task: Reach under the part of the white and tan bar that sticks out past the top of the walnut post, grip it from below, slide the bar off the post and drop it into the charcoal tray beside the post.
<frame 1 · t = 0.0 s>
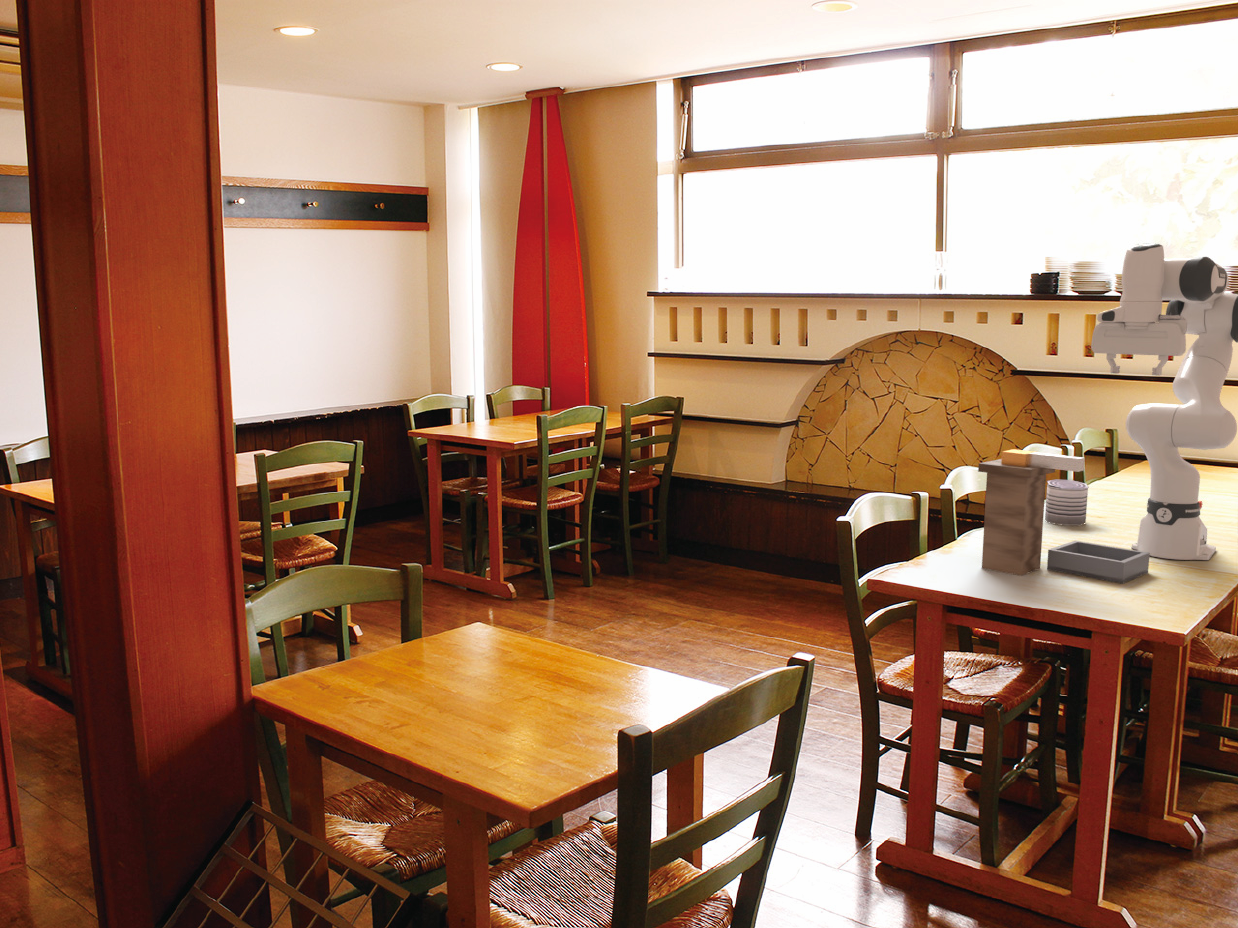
hand: (1135, 374, 247), 48 cm above the table, tool pointing down, fingers open, 8 cm apart
tray: (1097, 571, 257), on the table
white and tan bar: (1031, 465, 253), point 26 cm above the table, touching post
post: (1010, 568, 259), on the table
can: (1065, 522, 315), on the table
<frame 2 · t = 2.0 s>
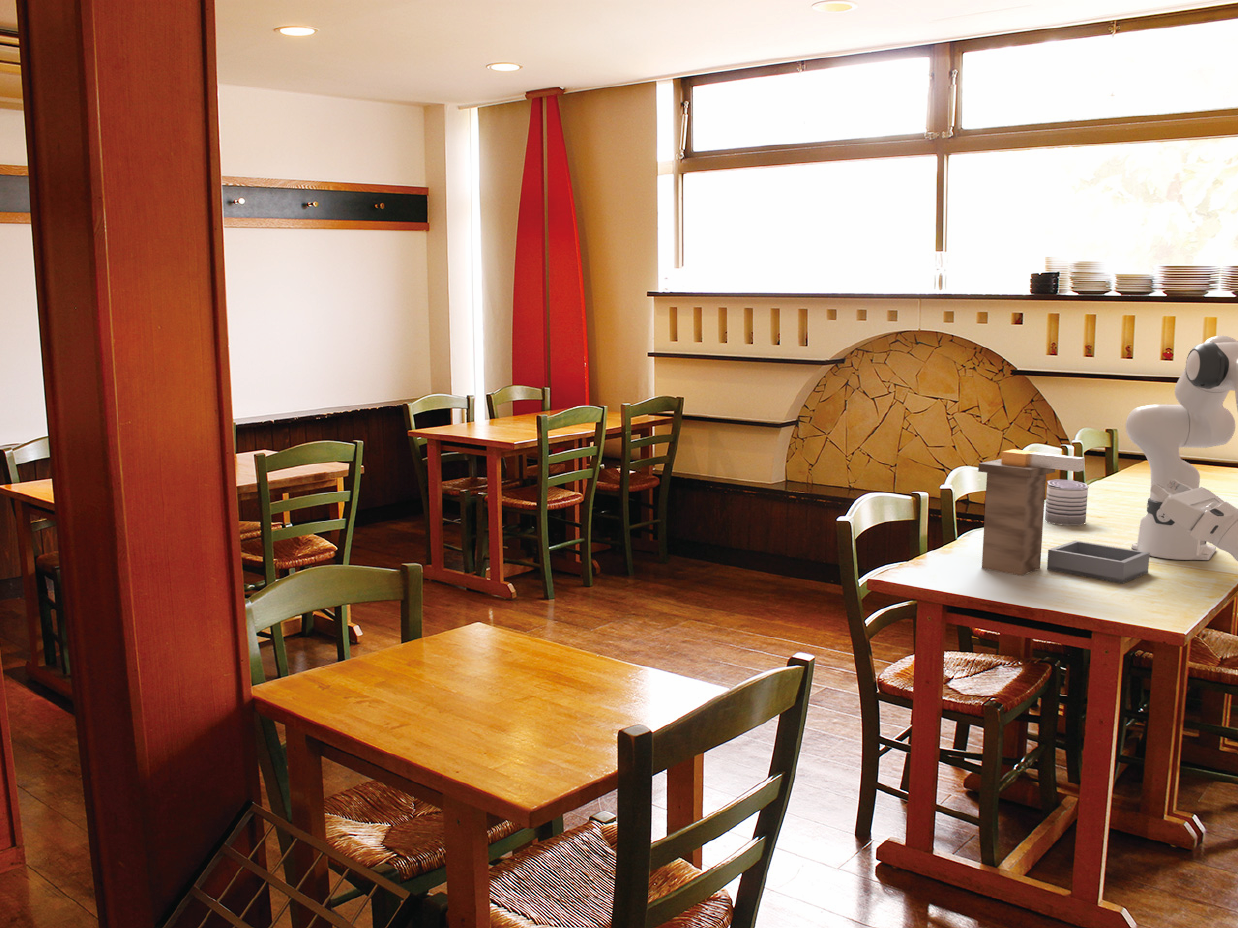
hand: (1161, 484, 231), 25 cm above the table, tool pointing upward, fingers open, 8 cm apart
nothing on the table moved.
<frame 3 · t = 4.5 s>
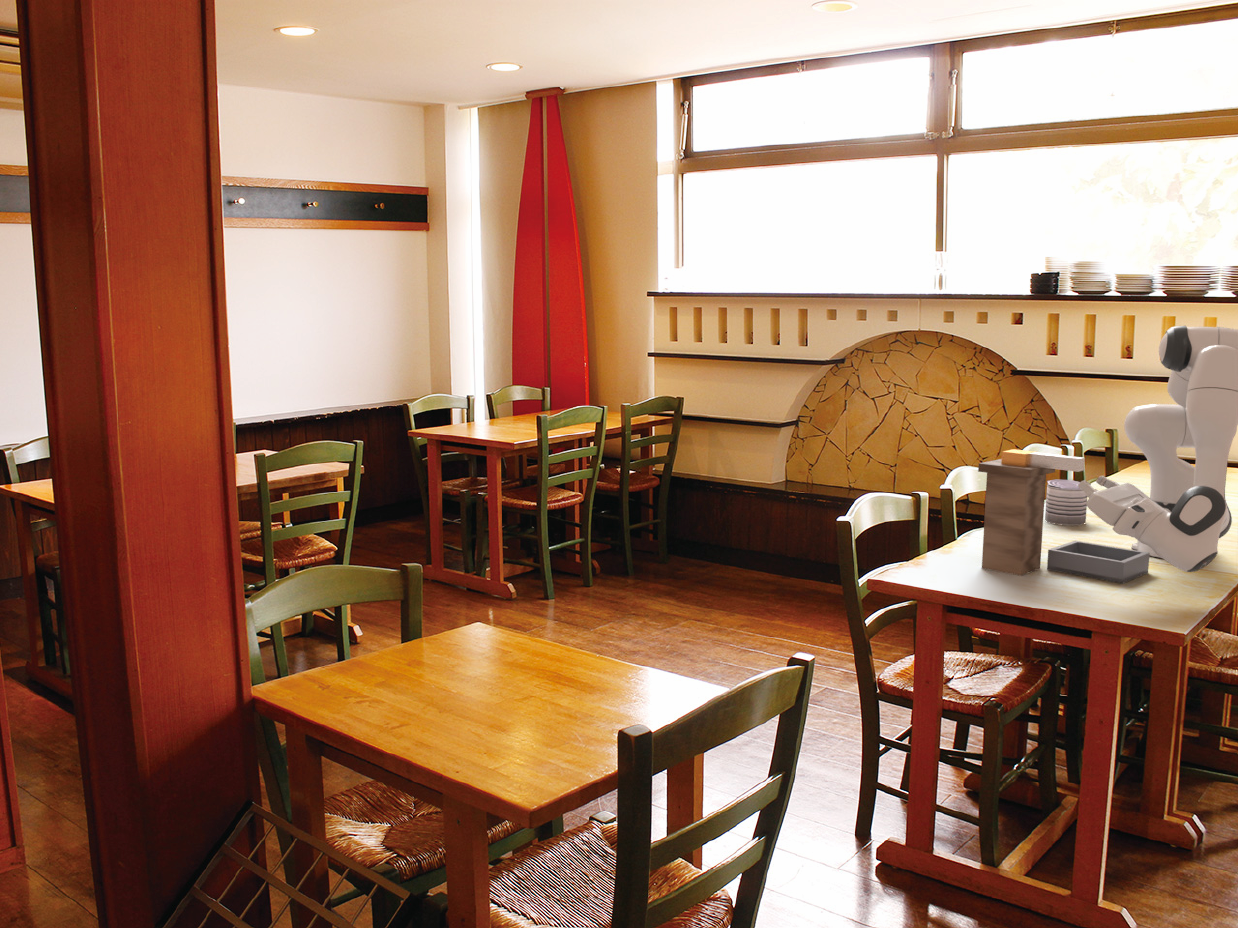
hand: (1089, 480, 243), 24 cm above the table, tool pointing upward, fingers open, 8 cm apart
nothing on the table moved.
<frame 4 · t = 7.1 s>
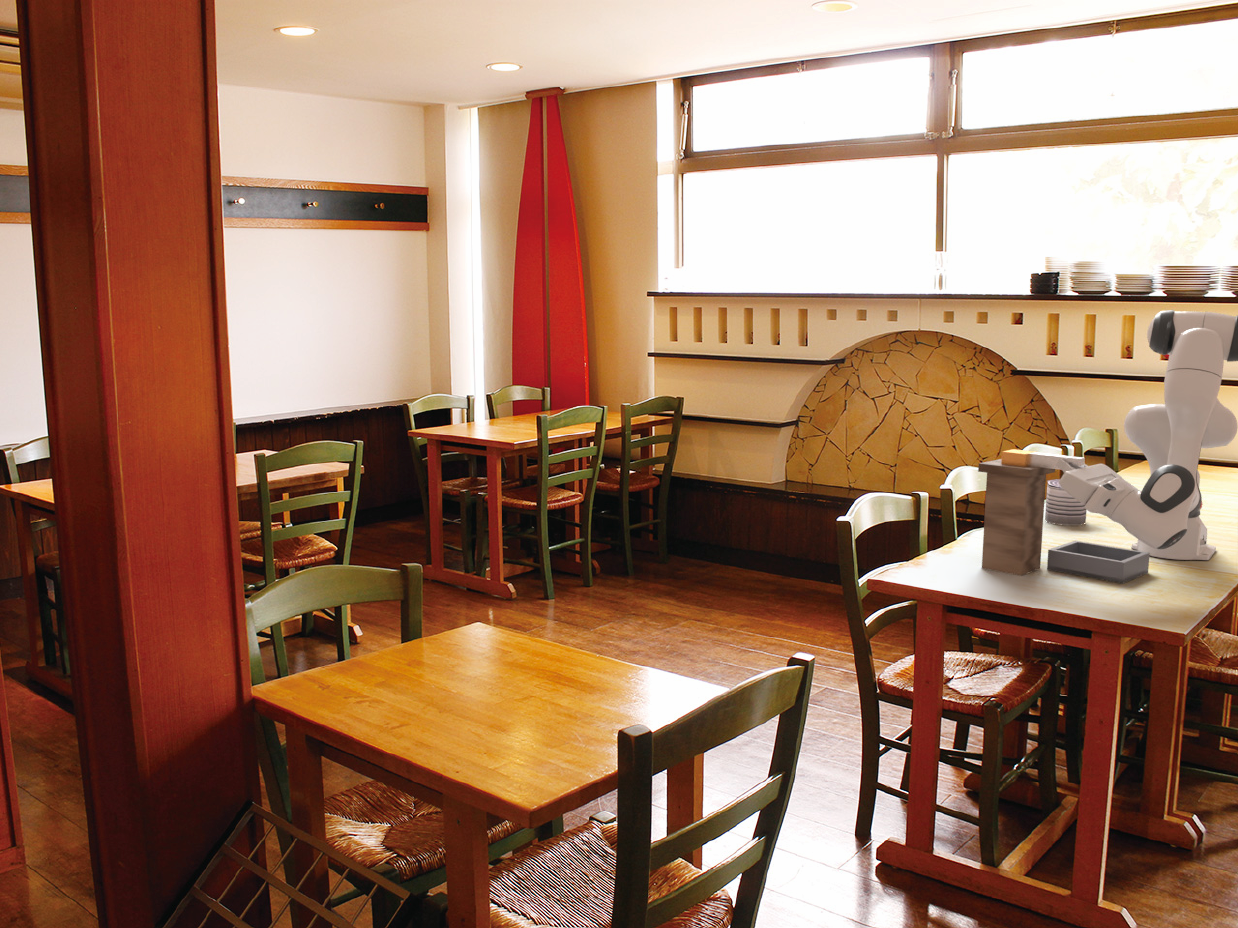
hand: (1063, 460, 247), 28 cm above the table, tool pointing upward, fingers closed on white and tan bar, 3 cm apart
white and tan bar: (1031, 465, 253), point 26 cm above the table, touching gripper, post
everything else where it was.
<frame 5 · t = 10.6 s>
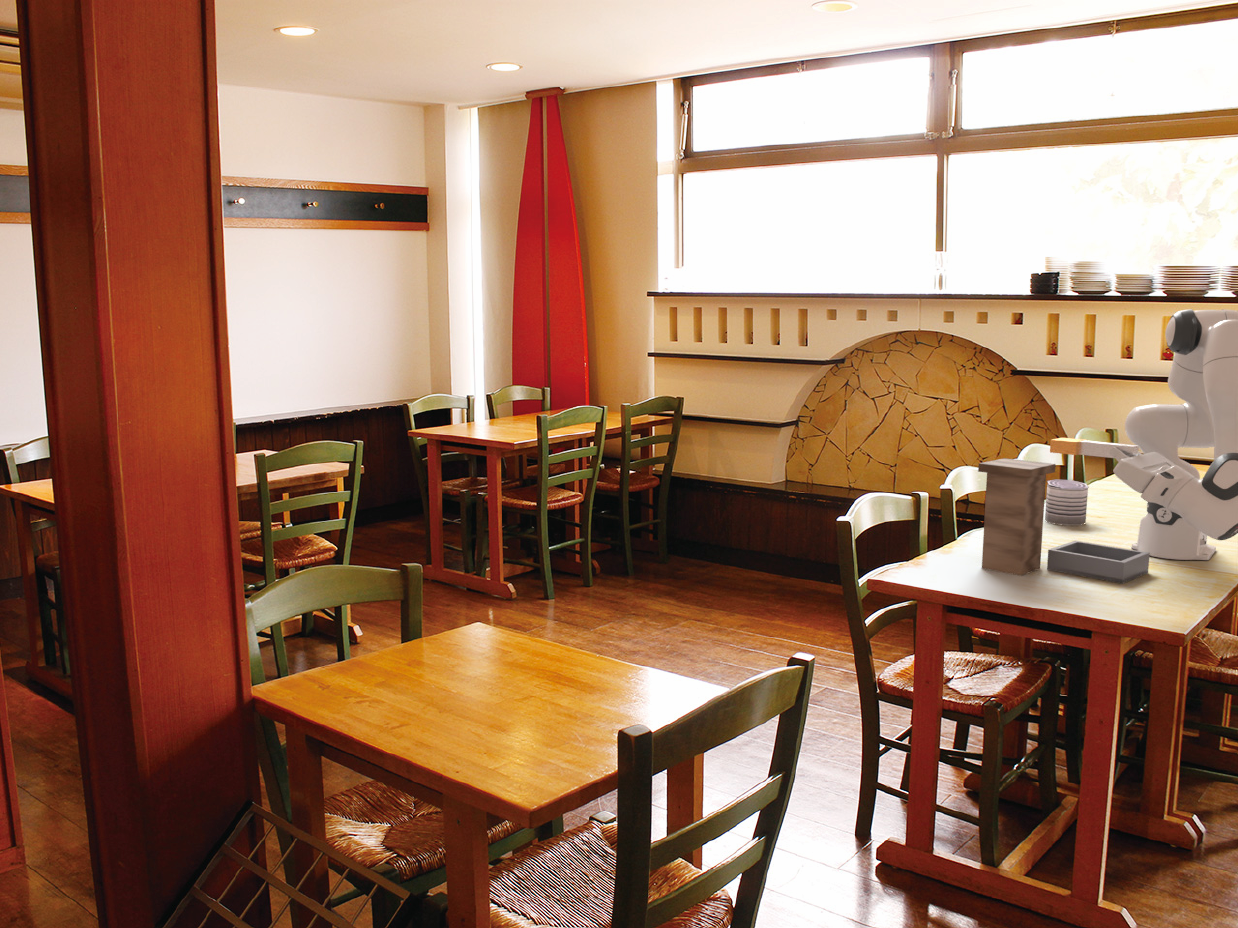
hand: (1116, 448, 238), 32 cm above the table, tool pointing upward, fingers closed on white and tan bar, 3 cm apart
white and tan bar: (1081, 453, 243), point 30 cm above the table, touching gripper
everything else where it was.
when the fingers open (22 cm above the table, at t = 14.5 s): white and tan bar drops 16 cm, resting on tray.
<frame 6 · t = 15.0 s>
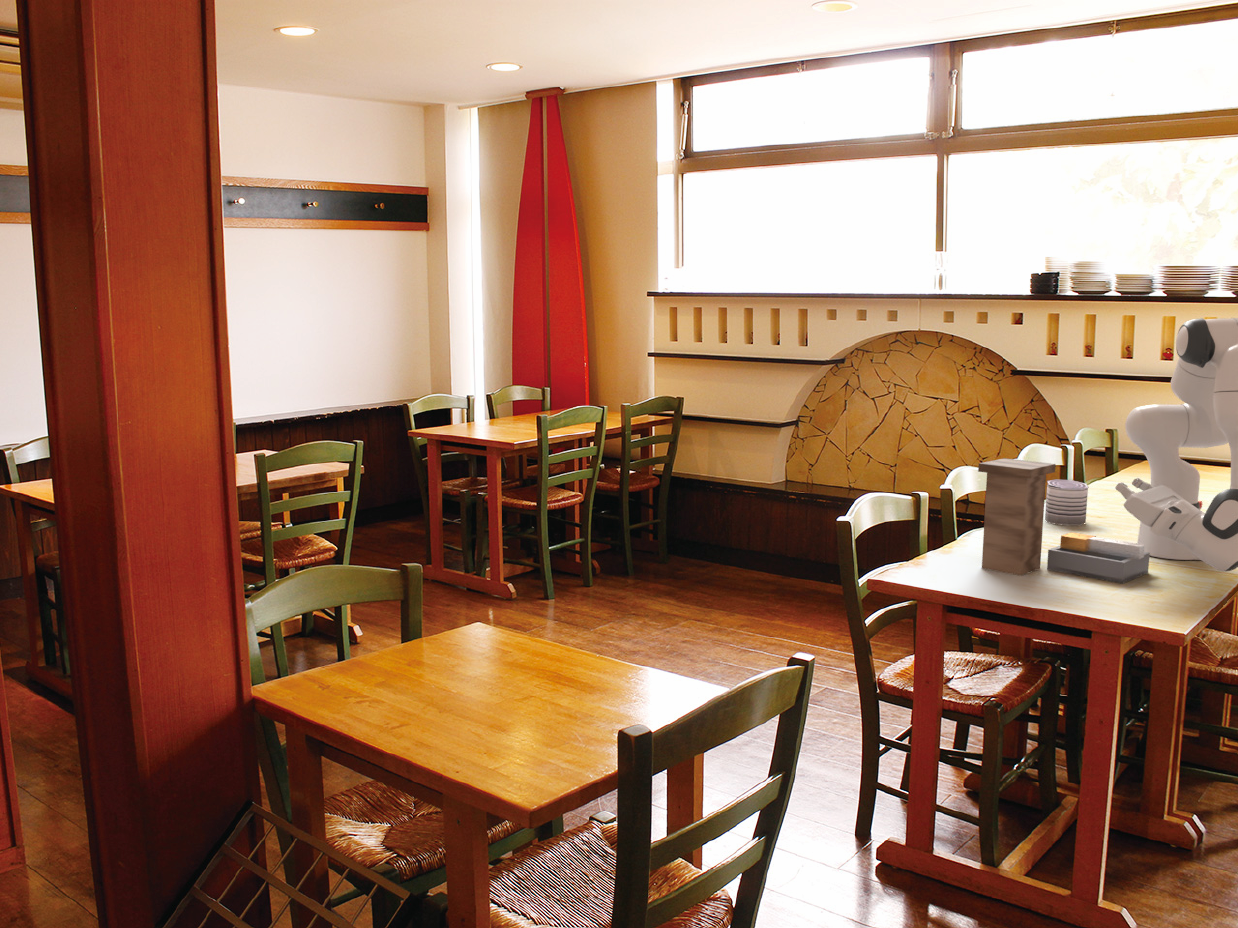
hand: (1126, 482, 249), 22 cm above the table, tool pointing upward, fingers open, 8 cm apart
white and tan bar: (1090, 549, 257), point 5 cm above the table, touching tray
everything else where it was.
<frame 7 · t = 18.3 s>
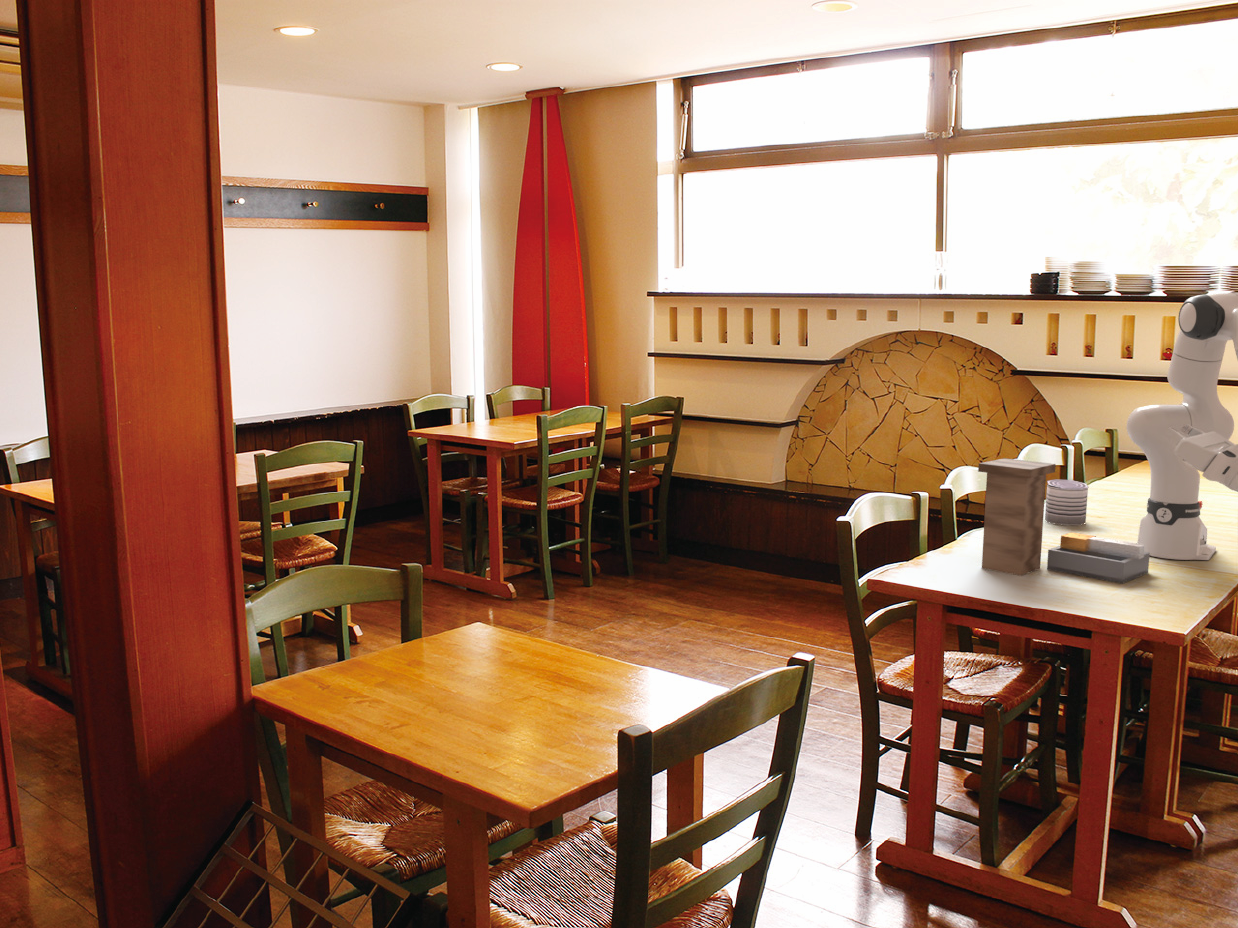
hand: (1175, 428, 240), 36 cm above the table, tool pointing upward, fingers open, 8 cm apart
nothing on the table moved.
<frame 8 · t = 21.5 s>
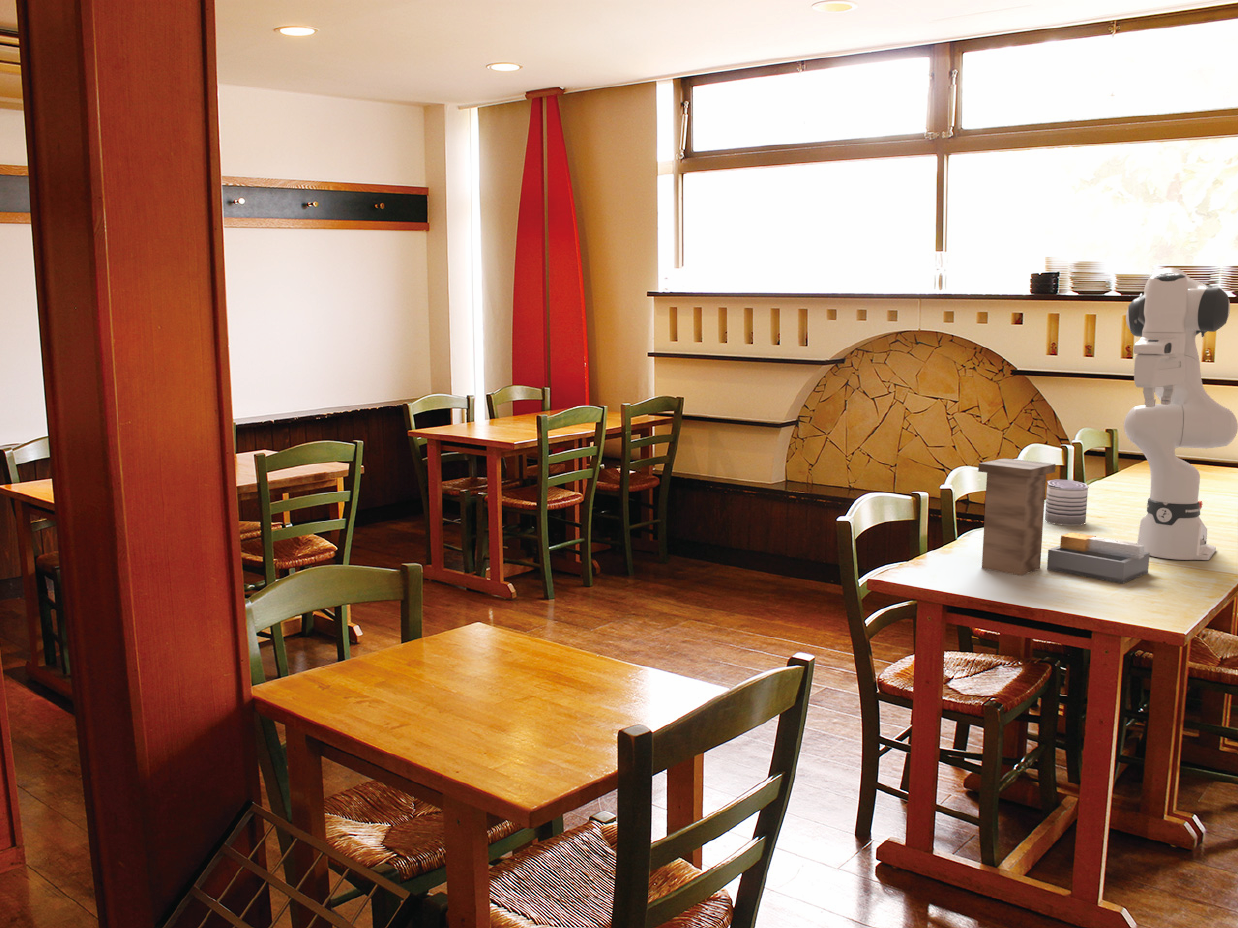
hand: (1157, 405, 243), 41 cm above the table, tool pointing down, fingers open, 8 cm apart
nothing on the table moved.
at the end: white and tan bar inside the target area on the tray (2.0 cm from its centre), point 5.0 cm above the tray's base; white and tan bar touching tray; the gripper is holding nothing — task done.
